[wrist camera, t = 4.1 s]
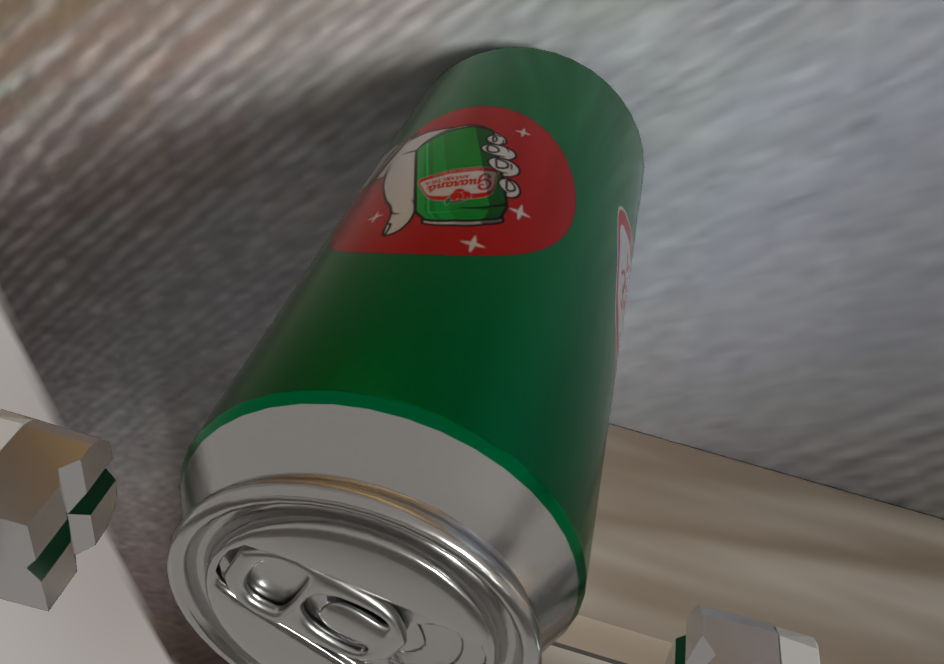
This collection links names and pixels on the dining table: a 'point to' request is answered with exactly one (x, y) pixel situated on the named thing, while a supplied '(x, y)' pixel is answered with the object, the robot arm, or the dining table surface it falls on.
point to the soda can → (429, 393)
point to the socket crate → (750, 560)
